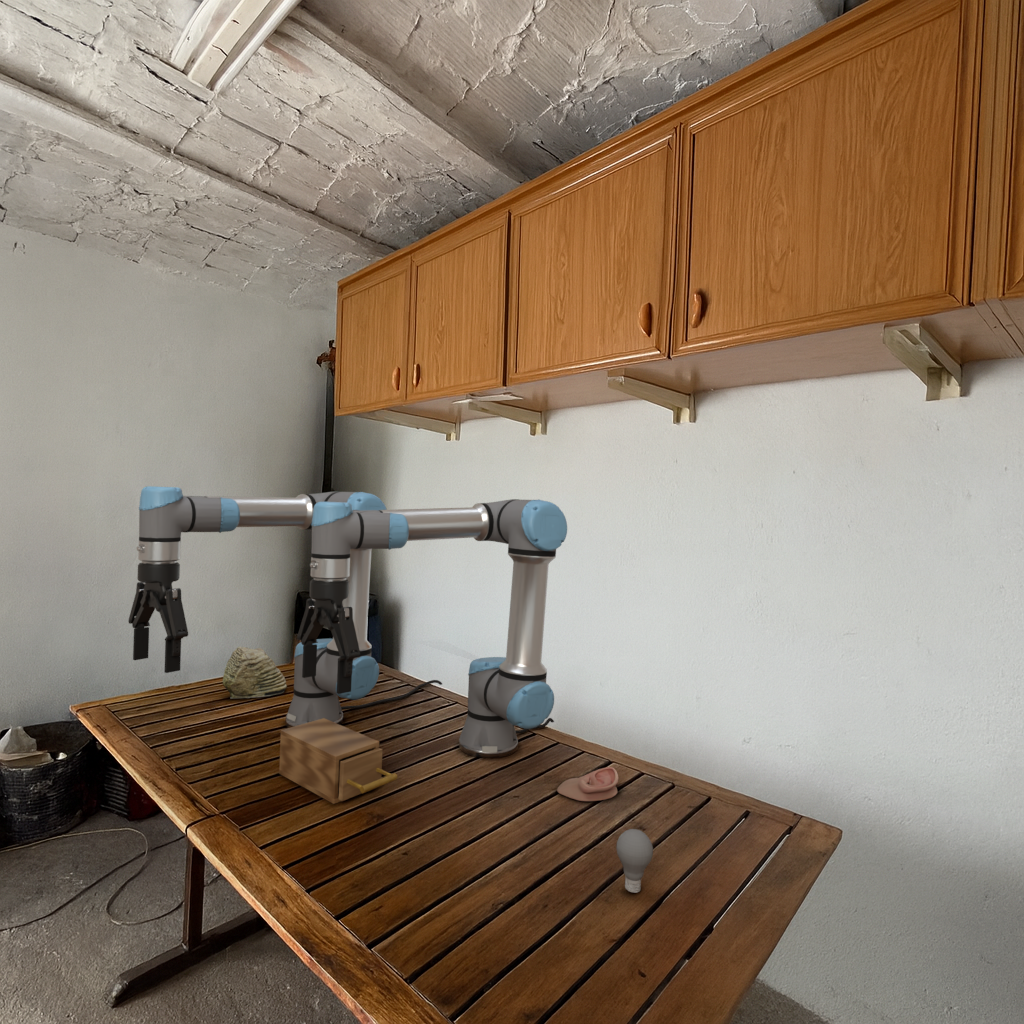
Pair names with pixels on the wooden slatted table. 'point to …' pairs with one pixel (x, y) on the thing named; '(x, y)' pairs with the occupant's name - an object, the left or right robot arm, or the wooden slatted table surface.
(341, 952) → the wooden slatted table surface
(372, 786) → the drawer
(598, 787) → the anatomical model
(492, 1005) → the wooden slatted table surface
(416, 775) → the wooden slatted table surface
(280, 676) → the fossil
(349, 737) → the cabinet
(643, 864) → the light bulb
